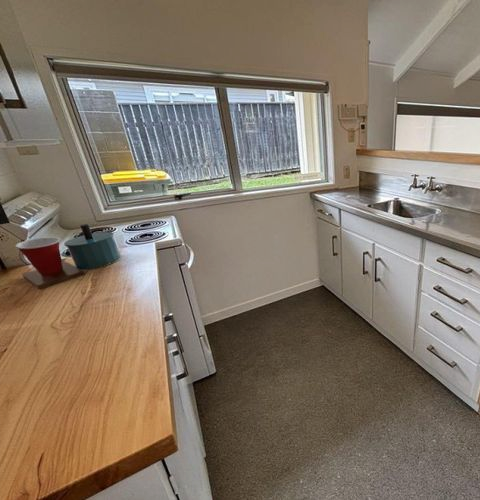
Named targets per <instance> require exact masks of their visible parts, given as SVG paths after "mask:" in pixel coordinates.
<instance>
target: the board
mask: <svg viewBox="0 0 480 500" xmlns="http://www.w3.org/2000/svg"><path fill="white" fill-rule="evenodd" d="M62 266H63V270H62V271H61V272H59V273H56V274H52V275H47V276H42V275H41V274H40V273H39V272H38V271H37V270H36V269H34V270H32V271H28V272H25V273H21V275H22V277H23V278H24V279H25V280H26V281H27V282H29V283H30V284H32V285H33V286H35V288H37V289H38V290H42V289H46V288H49V287H52V286H54V285H58V284H60V283H64V282H67V281H69V280H73V279H76V278H79V277H82V276H85V275H86V274H85V270H81V269H79V268H77V267H76V265H73V264H71V263H69V262H67V261H62Z"/></svg>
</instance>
